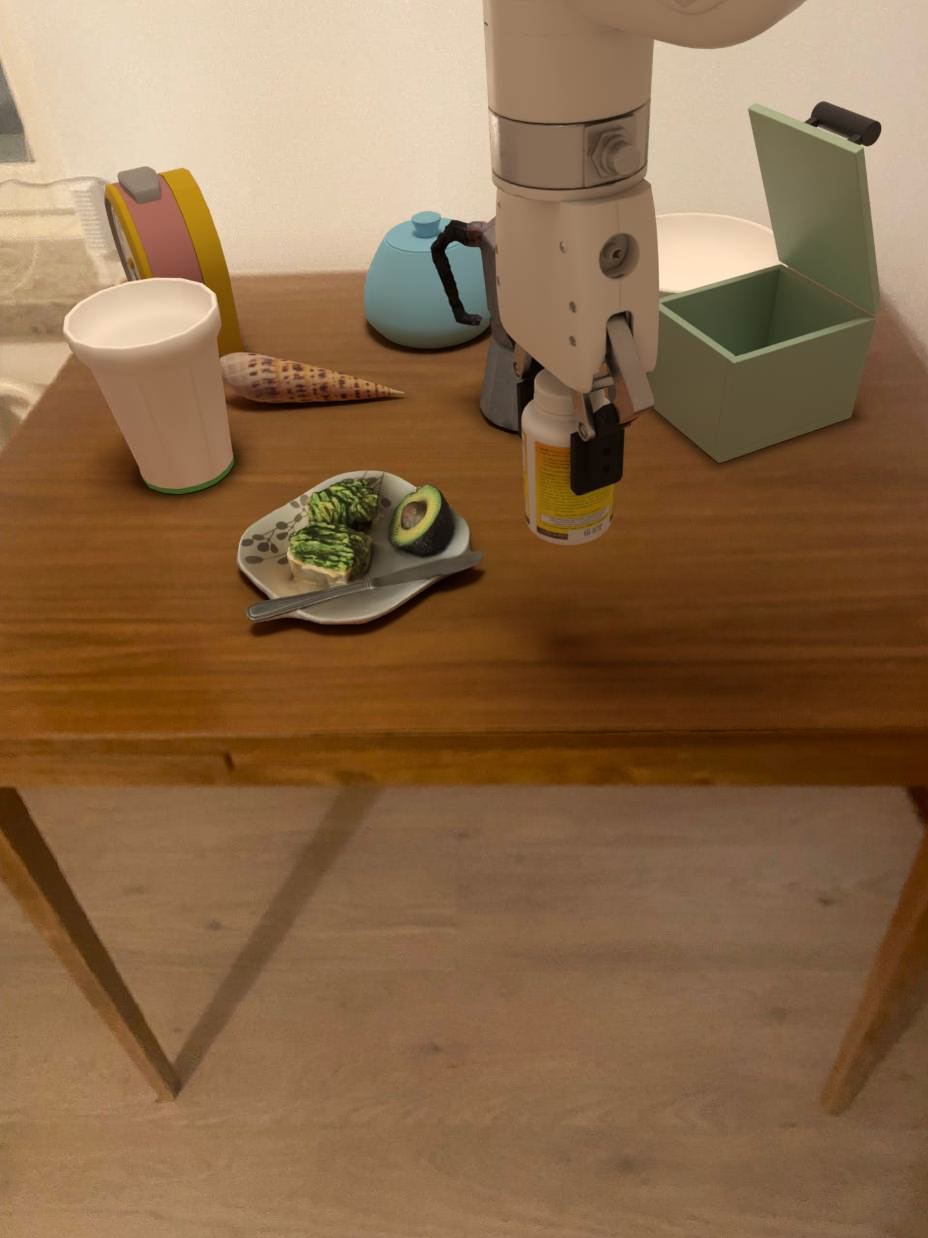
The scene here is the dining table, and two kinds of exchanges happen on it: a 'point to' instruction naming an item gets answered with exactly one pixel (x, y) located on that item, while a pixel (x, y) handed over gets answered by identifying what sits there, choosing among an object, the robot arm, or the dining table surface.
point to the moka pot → (498, 374)
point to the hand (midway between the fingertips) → (568, 457)
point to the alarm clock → (171, 238)
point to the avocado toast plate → (353, 549)
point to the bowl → (709, 250)
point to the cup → (159, 376)
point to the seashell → (293, 381)
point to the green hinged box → (757, 360)
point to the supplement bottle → (558, 468)
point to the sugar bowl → (423, 287)
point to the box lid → (821, 196)
